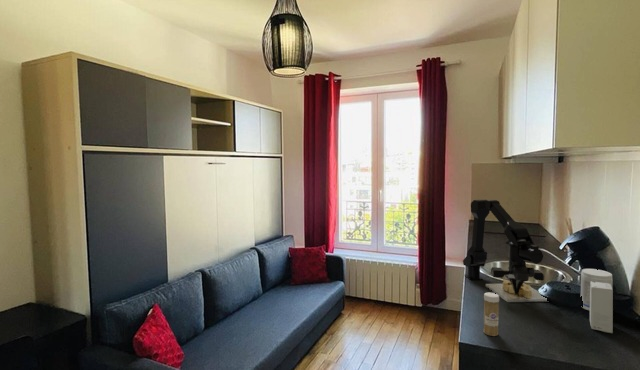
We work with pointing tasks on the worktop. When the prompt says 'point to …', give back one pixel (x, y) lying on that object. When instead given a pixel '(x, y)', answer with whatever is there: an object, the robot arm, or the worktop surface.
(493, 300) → the sprinkles bottle
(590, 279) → the supplement tub
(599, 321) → the skincare box
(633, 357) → the worktop surface
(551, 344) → the worktop surface
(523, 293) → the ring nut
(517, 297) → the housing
